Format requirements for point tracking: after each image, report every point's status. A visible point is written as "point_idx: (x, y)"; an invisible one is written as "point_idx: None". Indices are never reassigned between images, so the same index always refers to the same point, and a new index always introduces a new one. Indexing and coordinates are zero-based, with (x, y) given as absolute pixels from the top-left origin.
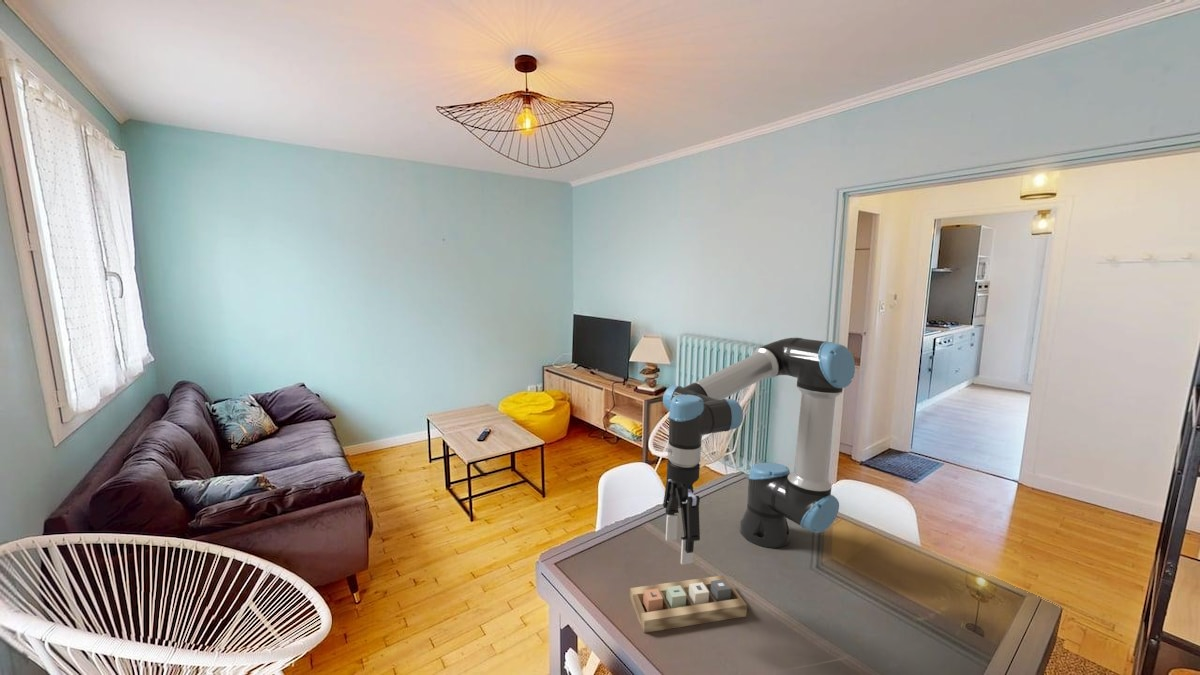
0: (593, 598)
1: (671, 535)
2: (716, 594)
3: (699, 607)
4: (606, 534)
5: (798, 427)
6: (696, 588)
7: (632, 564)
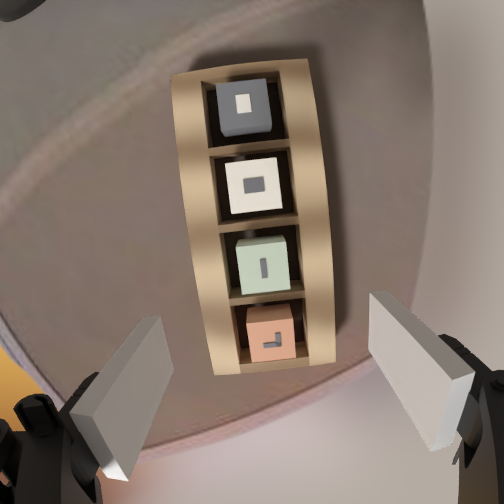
0: (212, 421)
1: (158, 362)
2: (263, 129)
3: (309, 202)
4: (10, 346)
5: None
6: (255, 195)
7: (90, 320)
